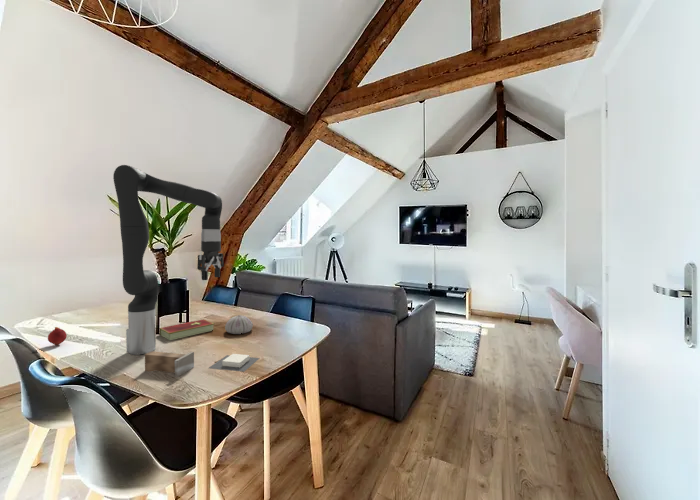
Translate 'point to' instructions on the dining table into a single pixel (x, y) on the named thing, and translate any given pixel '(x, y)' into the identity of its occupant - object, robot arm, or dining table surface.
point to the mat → (244, 367)
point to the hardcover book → (186, 329)
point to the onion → (57, 336)
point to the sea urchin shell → (238, 325)
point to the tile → (235, 360)
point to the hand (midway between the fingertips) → (211, 278)
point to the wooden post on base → (169, 362)
